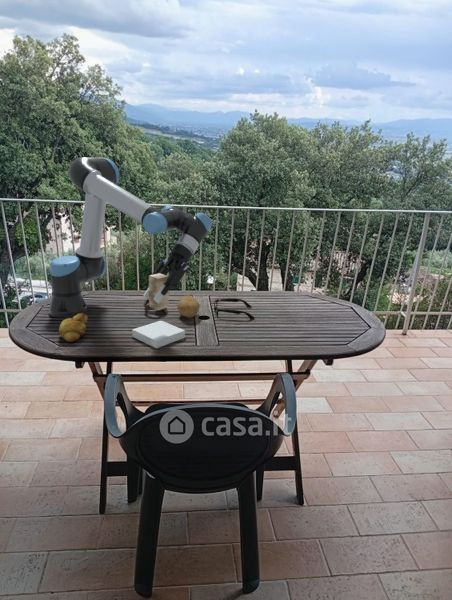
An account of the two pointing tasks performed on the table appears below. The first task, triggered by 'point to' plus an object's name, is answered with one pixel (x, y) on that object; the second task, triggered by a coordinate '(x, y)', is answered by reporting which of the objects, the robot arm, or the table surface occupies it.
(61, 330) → the bread roll
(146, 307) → the brown arched figurine
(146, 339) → the stone tile base
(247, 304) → the glasses
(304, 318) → the table surface
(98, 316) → the table surface
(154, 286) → the beech block
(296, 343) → the table surface
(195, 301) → the potato
